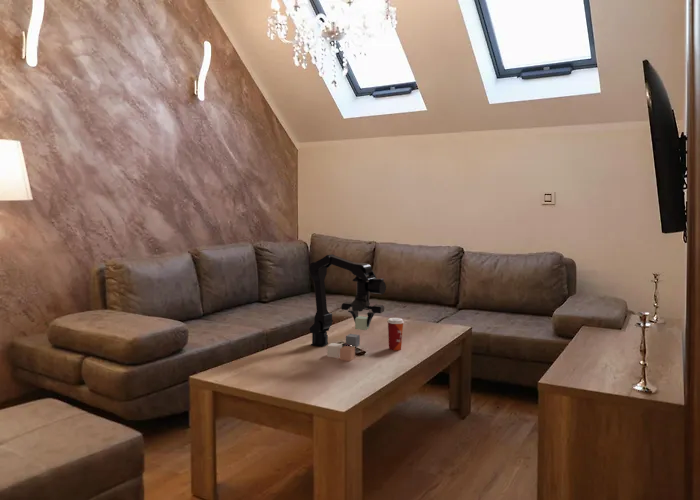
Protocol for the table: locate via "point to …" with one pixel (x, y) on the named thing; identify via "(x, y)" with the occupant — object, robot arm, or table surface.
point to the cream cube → (333, 350)
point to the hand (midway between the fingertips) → (362, 326)
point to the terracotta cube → (347, 353)
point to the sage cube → (361, 323)
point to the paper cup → (395, 333)
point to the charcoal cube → (353, 340)
